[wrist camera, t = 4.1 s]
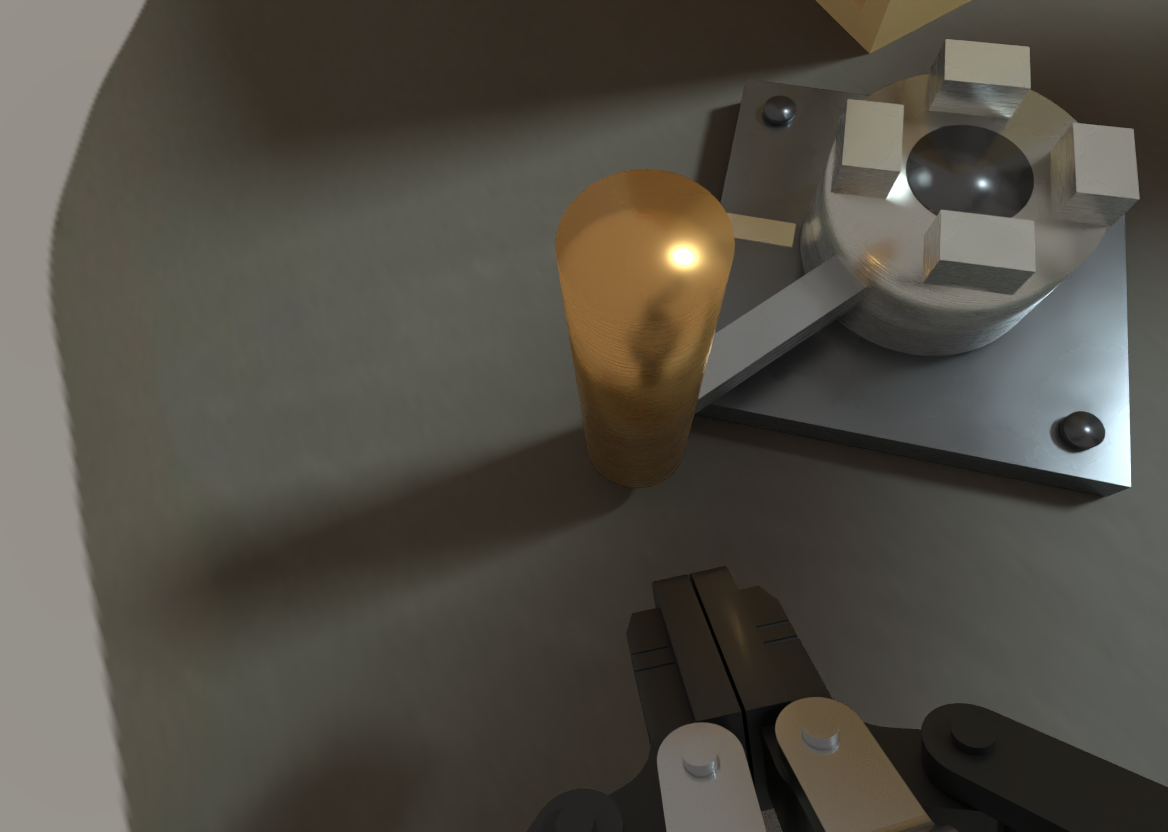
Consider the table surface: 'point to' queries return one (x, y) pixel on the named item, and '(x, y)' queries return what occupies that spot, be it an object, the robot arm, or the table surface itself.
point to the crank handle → (838, 249)
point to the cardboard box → (885, 17)
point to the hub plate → (916, 382)
